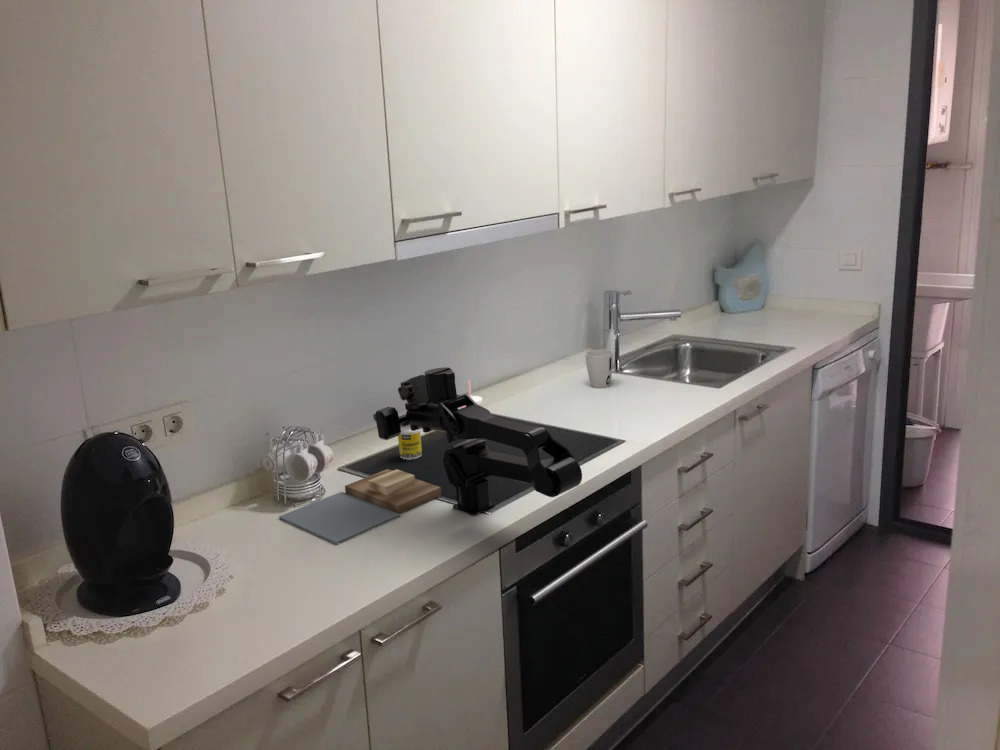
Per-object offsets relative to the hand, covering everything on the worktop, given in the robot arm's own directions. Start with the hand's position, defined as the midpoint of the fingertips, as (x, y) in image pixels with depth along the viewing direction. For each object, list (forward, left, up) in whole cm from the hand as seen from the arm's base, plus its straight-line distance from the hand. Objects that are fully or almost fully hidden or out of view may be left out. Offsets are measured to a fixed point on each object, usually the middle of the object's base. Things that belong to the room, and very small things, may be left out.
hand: (390, 410), depth 199 cm
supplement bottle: (+9, -12, -17) cm, 22 cm away
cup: (+7, -84, -17) cm, 86 cm away
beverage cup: (+9, -33, -17) cm, 38 cm away
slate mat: (-6, +21, -16) cm, 27 cm away
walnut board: (-6, +6, -16) cm, 19 cm away
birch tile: (-6, +6, -13) cm, 16 cm away
